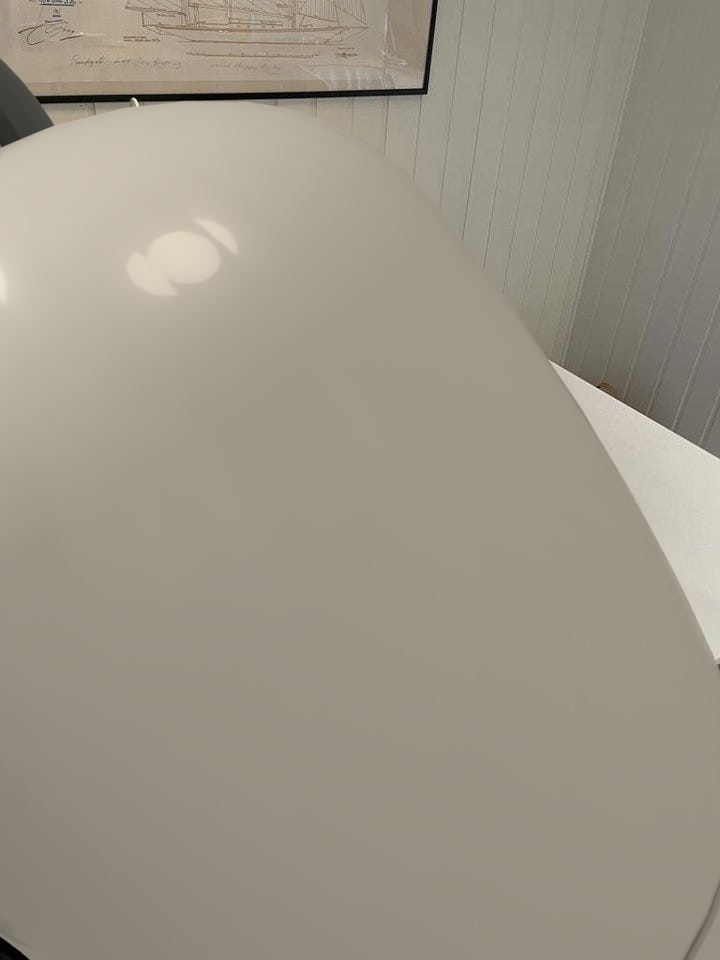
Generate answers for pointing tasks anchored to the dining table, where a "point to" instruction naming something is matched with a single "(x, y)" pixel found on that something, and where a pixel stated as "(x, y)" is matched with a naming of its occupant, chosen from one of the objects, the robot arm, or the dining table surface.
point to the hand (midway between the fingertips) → (440, 786)
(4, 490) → the robot arm
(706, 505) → the dining table surface
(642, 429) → the dining table surface
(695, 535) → the dining table surface
